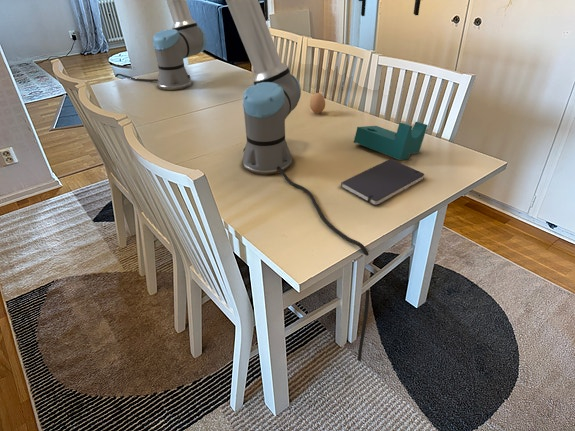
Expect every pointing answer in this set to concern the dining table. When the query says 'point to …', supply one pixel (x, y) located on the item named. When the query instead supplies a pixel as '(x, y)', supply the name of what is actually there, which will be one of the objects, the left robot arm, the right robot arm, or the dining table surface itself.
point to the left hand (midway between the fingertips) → (254, 39)
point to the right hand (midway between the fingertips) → (389, 15)
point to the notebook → (382, 181)
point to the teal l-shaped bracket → (392, 139)
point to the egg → (317, 103)
